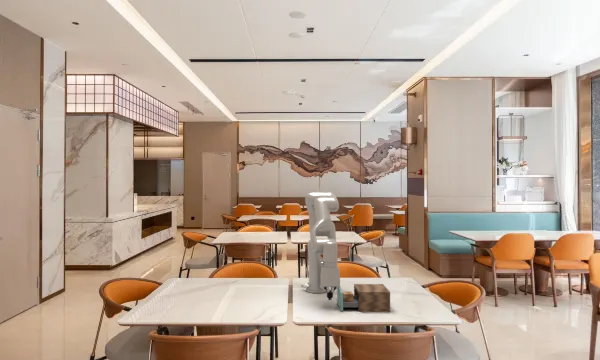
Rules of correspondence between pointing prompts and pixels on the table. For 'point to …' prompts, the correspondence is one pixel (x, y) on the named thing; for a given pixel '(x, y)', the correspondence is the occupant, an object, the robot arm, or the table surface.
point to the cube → (347, 296)
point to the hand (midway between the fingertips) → (330, 299)
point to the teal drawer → (346, 304)
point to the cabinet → (372, 297)
